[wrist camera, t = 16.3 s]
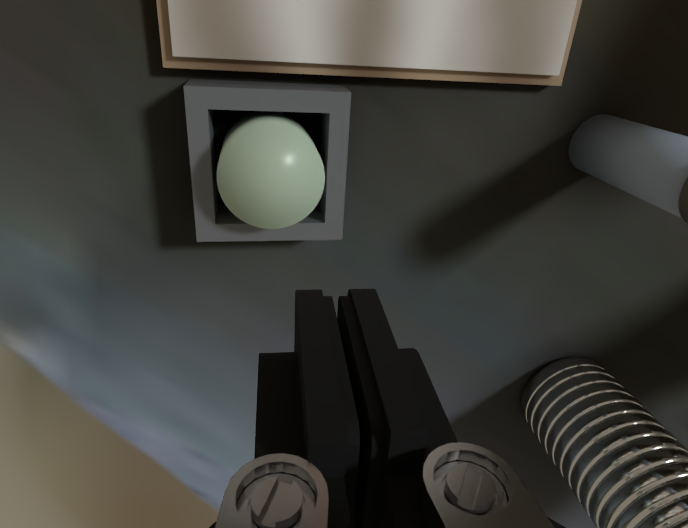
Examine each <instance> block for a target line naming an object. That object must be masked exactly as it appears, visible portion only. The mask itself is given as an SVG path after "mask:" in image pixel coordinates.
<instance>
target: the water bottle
mask: <svg viewBox="0 0 688 528" xmlns="http://www.w3.org/2000/svg"><path fill="white" fill-rule="evenodd" d="M521 410H522V414H523V416H524V419H525V421H526V422H527V424H528V426H529V427H530V429H531V431H532V433H533V434H534V435H535V436H536V438H537V440H538V441H539V443H540V444H541V445H542V447H543V449H544V450H545V452H546V453H547V455H548V456H549V457H550V459H551V461H552V462H553V464H554V465H555V466H556V467H557V469H558V471H559V473H560V474H561V476H562V477H563V478H564V479H565V481H566V483H567V484H568V486H569V487H570V489H571V490H572V491H573V493H574V495H575V496H576V498H577V499H578V501H579V502H580V503H581V504H582V506H583V508H584V510H585V511H586V513H587V514H588V515H589V517H590V518H591V519H592V521H593V523H594V525H595V526H596V527H597V528H688V450H687V449H686V448H685V447H684V446H683V445H682V444H681V443H679V441H678V440H677V439H676V438H675V437H674V436H673V435H672V434H671V433H670V432H669V431H667V429H666V428H665V427H664V426H663V425H662V424H661V423H660V422H659V421H658V420H656V418H655V417H654V416H653V415H652V414H651V413H650V412H649V411H648V410H647V409H645V407H644V406H643V405H642V404H641V403H640V402H639V401H638V400H637V399H635V397H634V396H633V395H632V394H631V393H630V392H629V391H628V390H626V388H625V387H624V386H623V385H622V384H621V383H620V382H619V381H617V379H616V378H615V377H614V376H613V375H612V374H611V373H609V372H608V371H607V370H606V369H605V368H604V367H602V366H601V365H600V364H598V363H597V362H595V361H593V360H590V359H587V358H583V357H570V358H564V359H561V360H558V361H555V362H553V363H551V364H549V365H547V366H545V367H544V368H542V369H541V370H540V371H538V372H537V373H536V374H535V375H534V376H533V377H532V378H531V379H530V381H529V382H528V384H527V385H526V387H525V389H524V391H523V394H522V397H521Z"/></svg>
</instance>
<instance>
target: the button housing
mask: <svg viewBox="0 0 688 528" xmlns="http://www.w3.org/2000/svg"><path fill="white" fill-rule="evenodd" d="M183 87H184V98H185V110H186V122H187V133H188V145H189V157H190V168H191V180H192V192H193V203H194V215H195V227H196V238H197V242H225V241H292V240H342V233H343V217H344V201H345V185H346V169H347V153H348V137H349V122H350V106H351V92H350V91H349V90H347V89H346V88H345V87H343V86H342V85H324V84H300V83H277V82H253V81H230V80H206V79H190V80H189V81H188V82H187V83H186V84H185V85H184V86H183ZM213 110H244V111H275V112H307V113H322V132H321V160H322V163H323V166H324V172H325V184H324V189H323V193H322V196H321V198H320V200H319V205H317V206H316V207H315V208H314V210H313V211H312V212H311V213H310V214H309V215H308V216H307V217H305V218H304V219H303V220H301V221H300V222H298V223H296V224H294V225H291V226H288V227H285V228H280V229H264V228H258V227H255V226H252V225H250V224H247V223H245V222H244V221H242V220H240V219H239V218H238V217H236V216H235V215H234V214H233V213H232V212H231V211H230V210H229V209H228V208H227V206H218V191H217V174H216V158H215V142H214V125H213Z"/></svg>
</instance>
